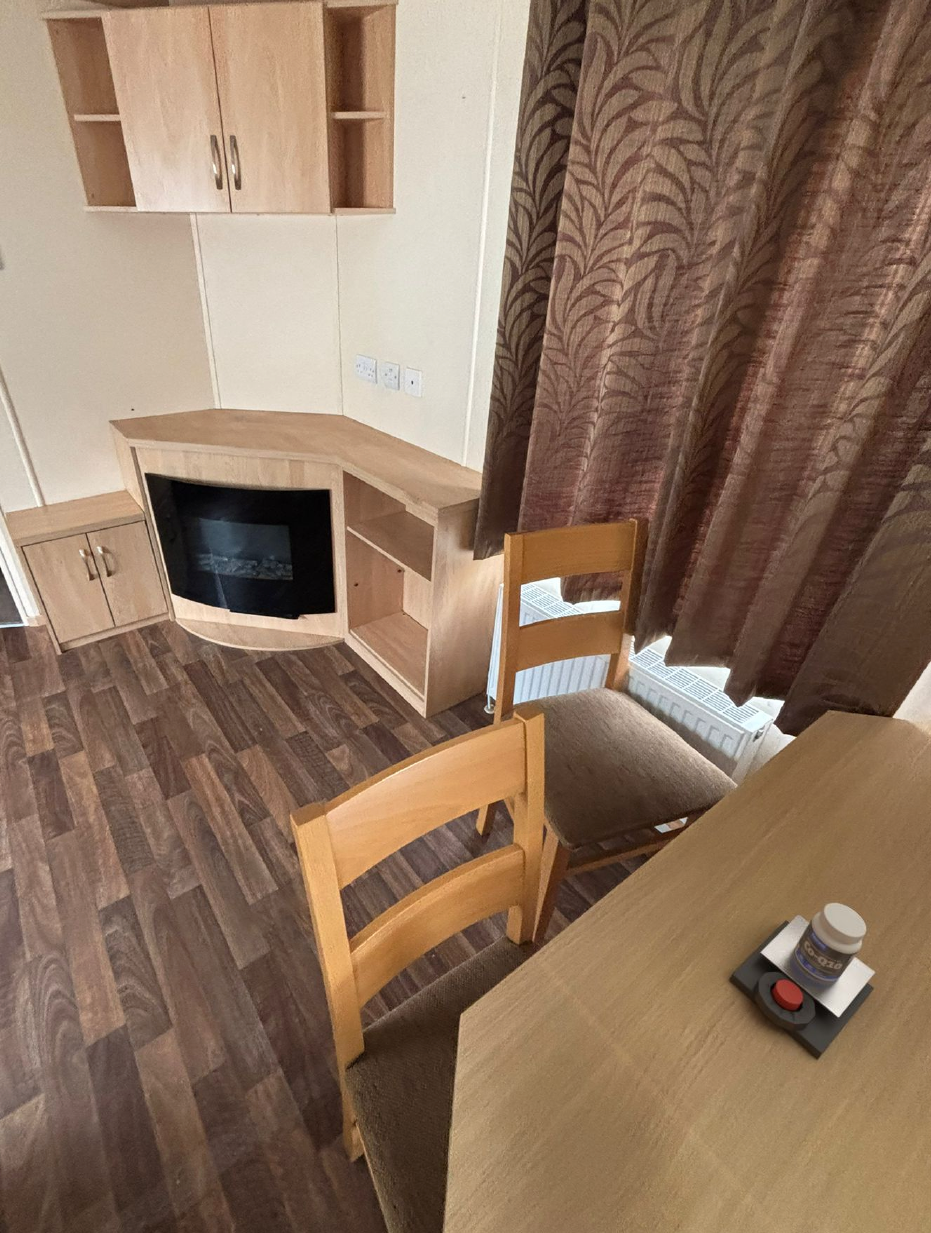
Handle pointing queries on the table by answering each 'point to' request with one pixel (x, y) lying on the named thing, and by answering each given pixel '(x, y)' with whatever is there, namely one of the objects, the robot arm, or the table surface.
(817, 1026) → the scale
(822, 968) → the pill bottle
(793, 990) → the tare button
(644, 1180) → the table surface
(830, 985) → the pan
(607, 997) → the table surface
